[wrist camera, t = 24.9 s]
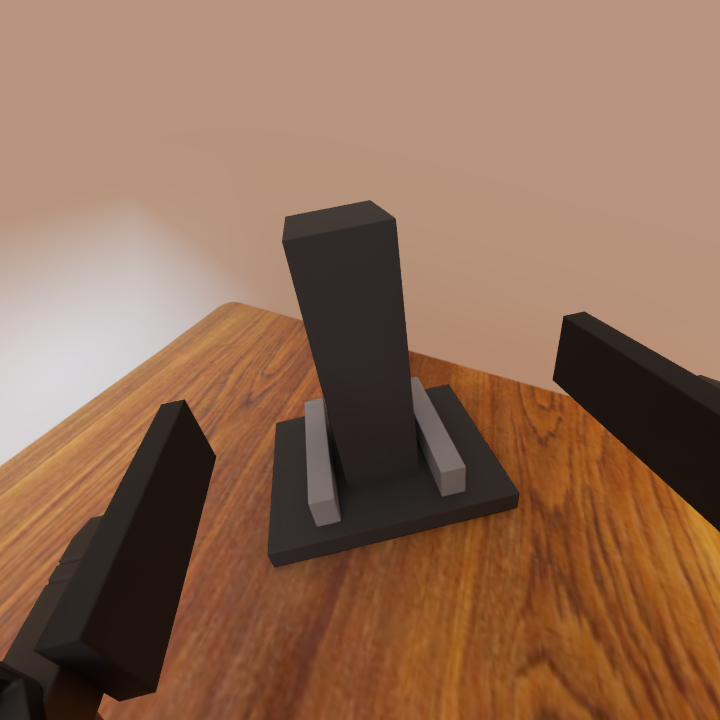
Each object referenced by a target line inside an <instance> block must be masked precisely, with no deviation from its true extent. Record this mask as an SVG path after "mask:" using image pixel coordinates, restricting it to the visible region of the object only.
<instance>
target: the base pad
mask: <svg viewBox="0 0 720 720" xmlns="http://www.w3.org/2000/svg"><path fill="white" fill-rule="evenodd" d="M411 386H412V397H413V408H414V418H415V429H416V440H417V450H418V461H419V471H420V475H419V476H415V477H411V478H407V479H402V480H398V481H394V482H390V483H386V484H381V485H377V486H373V487H369V488H365V489H360V490H356V491H352V492H349V489H348V485H347V481H346V478H345V474H344V470H343V467H342V463H341V459H340V455H339V452H338V448H337V444H336V440H335V437H334V433H333V429H332V426H331V422H330V418H329V414H328V411H326V407H325V403H324V400H323V398H319V399H315V400H310V401H306V402H305V403H304V404H305V417H301V418H296V419H292V420H288V421H283V422H279V423H276V435H275V450H274V465H273V480H272V495H271V511H270V526H269V541H268V556H269V558H270V560H271V562H272V564H273V566H274V567H278V566H282V565H286V564H290V563H294V562H298V561H302V560H306V559H311V558H315V557H319V556H323V555H327V554H331V553H335V552H339V551H343V550H347V549H351V548H355V547H359V546H363V545H367V544H371V543H375V542H379V541H383V540H387V539H392V538H396V537H400V536H404V535H408V534H412V533H416V532H420V531H424V530H428V529H432V528H436V527H440V526H444V525H448V524H452V523H456V522H460V521H464V520H469V519H473V518H477V517H481V516H485V515H489V514H493V513H497V512H501V511H505V510H509V509H513V508H517V506H518V499H519V492H518V490H517V489H516V487H515V486H514V484H513V483H512V481H511V480H510V478H509V477H508V475H507V474H506V472H505V470H504V469H503V467H502V466H501V464H500V463H499V461H498V460H497V458H496V457H495V455H494V453H493V452H492V450H491V449H490V447H489V446H488V444H487V443H486V441H485V440H484V438H483V436H482V435H481V433H480V432H479V430H478V429H477V427H476V426H475V424H474V423H473V421H472V419H471V418H470V416H469V415H468V413H467V412H466V410H465V409H464V407H463V406H462V404H461V403H460V401H459V399H458V398H457V396H456V395H455V393H454V392H453V390H452V389H451V387H450V386H449V384H447V385H443V386H439V387H434V388H430V389H425V390H424V388H423V386H422V384H421V382H420V380H419V379H418V377H413V378H411Z"/></svg>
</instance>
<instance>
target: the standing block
mask: <svg viewBox="0 0 720 720" xmlns="http://www.w3.org/2000/svg"><path fill="white" fill-rule="evenodd" d="M282 243H283V247H284V250H285V254H286V258H287V262H288V265H289V269H290V273H291V276H292V280H293V284H294V288H295V292H296V295H297V299H298V303H299V306H300V310H301V314H302V318H303V321H304V325H305V329H306V332H307V336H308V340H309V344H310V347H311V351H312V355H313V359H314V362H315V366H316V370H317V373H318V377H319V381H320V385H321V388H322V392H323V396H324V400H325V403H326V407H327V411H328V414H329V418H330V422H331V426H332V429H333V433H334V437H335V440H336V444H337V448H338V452H339V455H340V459H341V463H342V467H343V470H344V474H345V478H346V481H347V485H348V489H349V492H352V491H356V490H360V489H365V488H369V487H373V486H377V485H381V484H386V483H390V482H394V481H398V480H402V479H407V478H411V477H415V476H419V475H420V471H419V461H418V450H417V440H416V429H415V418H414V408H413V397H412V386H411V376H410V365H409V354H408V345H407V333H406V322H405V312H404V301H403V292H402V280H401V269H400V258H399V248H398V237H397V226H396V219H395V218H394V217H393V216H391V215H390V214H389V213H387V212H386V211H385V210H383V209H382V208H380V207H379V206H377V205H376V204H374V203H373V202H372V201H370V200H369V201H364V202H359V203H354V204H348V205H343V206H338V207H333V208H329V209H323V210H317V211H312V212H307V213H302V214H297V215H292V216H287V217H285V224H284V231H283V239H282Z"/></svg>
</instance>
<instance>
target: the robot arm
mask: <svg viewBox="0 0 720 720" xmlns="http://www.w3.org/2000/svg"><path fill="white" fill-rule="evenodd" d="M553 381H555V382H556V383H557V384H558V385H559V386H560V387H561V388H562V389H563V390H564V391H565V392H567V393H568V394H569V395H570V396H571V397H572V398H573V399H574V400H575V401H576V402H578V403H579V404H580V405H581V406H582V407H583V408H584V409H585V410H586V411H587V412H589V413H590V414H591V415H592V416H593V417H594V418H595V419H596V420H597V421H598V422H600V423H601V424H602V425H603V426H604V427H605V428H606V429H607V430H608V431H609V432H611V433H612V434H613V435H614V436H615V437H616V438H617V439H618V440H619V441H620V442H621V443H623V444H624V445H625V446H626V447H627V448H628V449H629V450H630V451H631V452H632V453H634V454H635V455H636V456H637V457H638V458H639V459H640V460H641V461H642V462H643V463H645V464H646V465H647V466H648V467H649V468H650V469H651V470H652V471H653V472H654V473H656V474H657V475H658V476H659V477H660V478H661V479H662V480H663V481H664V482H665V483H667V484H668V485H669V486H670V487H671V488H672V489H673V490H674V491H675V492H676V493H678V494H679V495H680V496H681V497H682V498H683V499H684V500H685V501H686V502H687V503H689V504H690V505H691V506H692V507H693V508H694V509H695V510H696V511H697V512H698V513H700V514H701V515H702V516H703V517H704V518H705V519H706V520H707V521H708V522H709V523H711V524H712V525H713V526H714V527H715V528H716V529H717V530H718V531H719V532H720V382H719V381H716V380H714V379H710V378H708V377H705V376H702V375H699V376H696V375H694V374H693V373H691V372H689V371H687V370H686V369H684V368H682V367H680V366H679V365H677V364H675V363H673V362H672V361H670V360H668V359H666V358H665V357H663V356H661V355H660V354H658V353H656V352H654V351H653V350H651V349H649V348H647V347H646V346H644V345H642V344H640V343H639V342H637V341H635V340H633V339H631V338H630V337H628V336H626V335H625V334H623V333H621V332H619V331H618V330H616V329H614V328H612V327H610V326H609V325H607V324H605V323H604V322H602V321H600V320H598V319H597V318H595V317H593V316H591V315H590V314H588V313H586V312H580V313H576V314H571V315H567V316H564V317H563V323H562V328H561V334H560V340H559V346H558V352H557V358H556V364H555V369H554V375H553ZM215 460H216V455H215V454H214V452H213V450H212V448H211V446H210V444H209V443H208V441H207V439H206V437H205V435H204V434H203V432H202V430H201V428H200V426H199V424H198V423H197V421H196V419H195V417H194V415H193V414H192V412H191V410H190V408H189V406H188V405H187V403H186V401H185V399H184V400H180V401H175V402H171V403H166V404H162V405H161V406H160V408H159V410H158V412H157V414H156V416H155V418H154V420H153V422H152V423H151V425H150V427H149V429H148V431H147V433H146V435H145V437H144V439H143V441H142V443H141V445H140V446H139V448H138V450H137V452H136V454H135V456H134V458H133V460H132V462H131V464H130V466H129V468H128V469H127V471H126V473H125V475H124V477H123V479H122V481H121V483H120V485H119V487H118V489H117V491H116V492H115V494H114V496H113V498H112V500H111V502H110V504H109V506H108V508H107V510H106V512H105V514H104V515H102V516H98V517H94V518H91V519H90V520H89V521H88V522H87V523H86V524H85V525H84V526H83V528H82V529H81V530H80V531H79V532H78V533H77V534H76V535H75V536H74V537H73V539H72V540H71V542H70V544H69V545H68V547H67V549H66V551H65V552H64V554H63V556H62V558H61V559H60V561H59V562H60V564H59V566H56V568H55V570H54V572H53V573H52V575H51V577H50V579H49V580H48V581H49V584H48V585H46V586H45V587H44V589H43V591H42V593H41V594H40V596H39V598H38V600H37V601H36V603H35V605H34V607H33V608H32V610H31V612H30V614H29V615H28V617H27V619H26V621H25V622H24V624H23V626H22V628H21V629H20V631H19V633H18V635H17V636H16V638H15V640H14V642H13V643H12V645H11V647H10V649H9V650H8V652H7V654H6V656H5V658H4V659H3V661H2V662H1V661H0V720H103V718H102V717H101V716H100V714H99V713H98V712H97V711H98V708H99V705H100V703H101V700H102V697H103V694H104V693H105V694H107V695H109V696H111V697H112V698H114V699H116V700H117V701H119V702H120V701H123V700H127V699H131V698H135V697H139V696H143V695H147V694H150V693H154V692H156V689H157V686H158V682H159V678H160V674H161V670H162V666H163V662H164V658H165V654H166V650H167V647H168V643H169V639H170V635H171V631H172V627H173V623H174V619H175V615H176V612H177V608H178V604H179V600H180V596H181V592H182V588H183V584H184V580H185V577H186V573H187V569H188V565H189V561H190V557H191V553H192V549H193V545H194V541H195V538H196V534H197V530H198V526H199V522H200V518H201V514H202V510H203V506H204V503H205V499H206V495H207V491H208V487H209V483H210V479H211V475H212V471H213V467H214V464H215Z"/></svg>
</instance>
